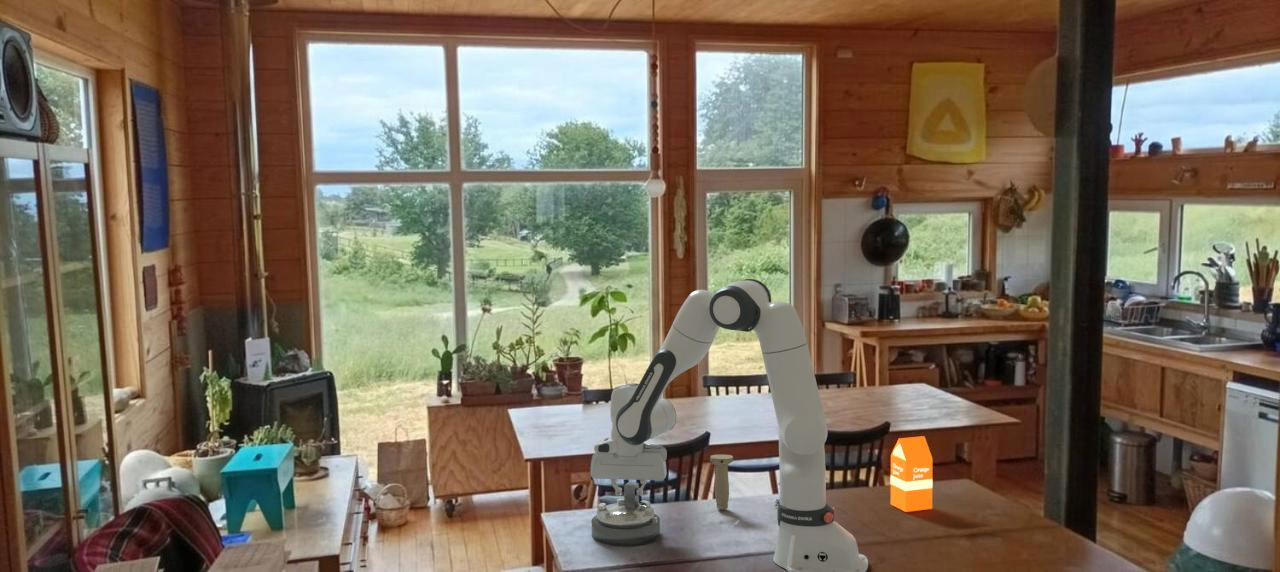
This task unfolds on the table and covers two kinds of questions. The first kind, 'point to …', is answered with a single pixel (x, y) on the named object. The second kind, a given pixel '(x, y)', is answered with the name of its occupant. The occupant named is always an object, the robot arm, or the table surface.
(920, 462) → the orange juice
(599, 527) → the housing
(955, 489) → the table surface
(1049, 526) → the table surface
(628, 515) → the round clock
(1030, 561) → the table surface
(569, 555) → the table surface
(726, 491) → the handle
